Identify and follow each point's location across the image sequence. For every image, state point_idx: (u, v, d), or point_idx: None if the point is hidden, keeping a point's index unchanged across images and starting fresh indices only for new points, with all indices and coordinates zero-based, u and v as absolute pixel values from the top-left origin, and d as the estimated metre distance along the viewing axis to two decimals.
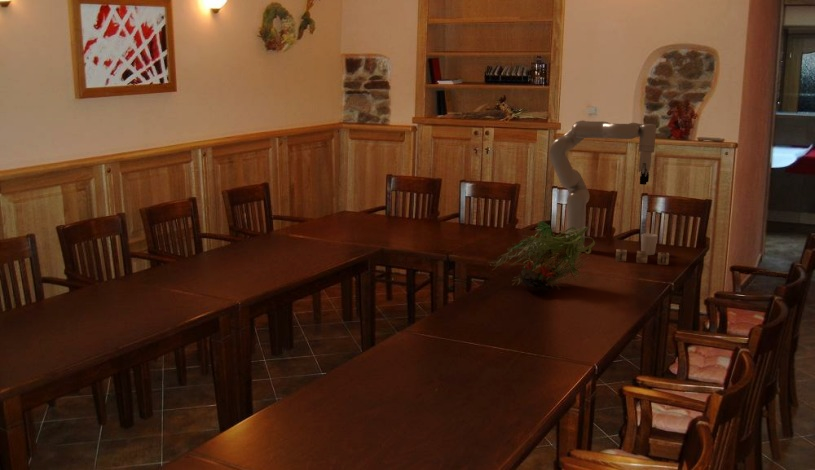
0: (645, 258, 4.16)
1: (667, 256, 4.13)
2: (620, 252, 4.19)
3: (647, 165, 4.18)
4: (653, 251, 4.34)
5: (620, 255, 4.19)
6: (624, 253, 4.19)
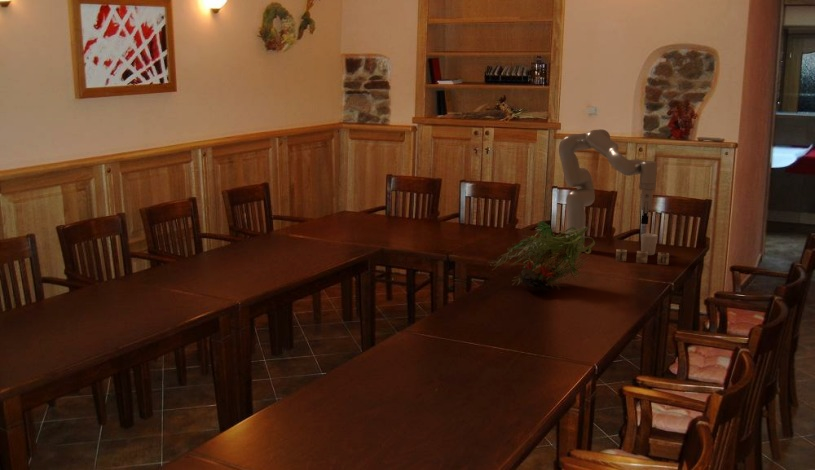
0: (645, 258, 4.16)
1: (667, 256, 4.13)
2: (620, 252, 4.19)
3: None
4: (653, 251, 4.34)
5: (620, 255, 4.19)
6: (624, 253, 4.19)
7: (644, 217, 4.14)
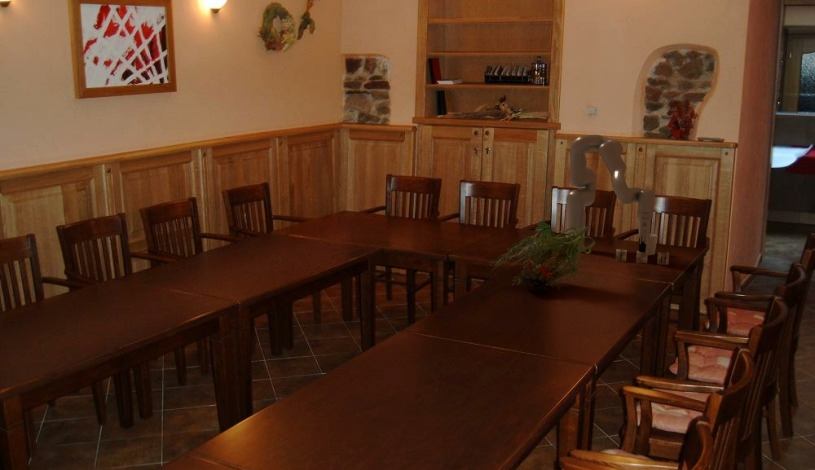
0: (645, 258, 4.16)
1: (667, 256, 4.13)
2: (621, 252, 4.19)
3: None
4: (653, 251, 4.34)
5: (620, 255, 4.19)
6: (624, 253, 4.18)
7: (642, 245, 4.16)
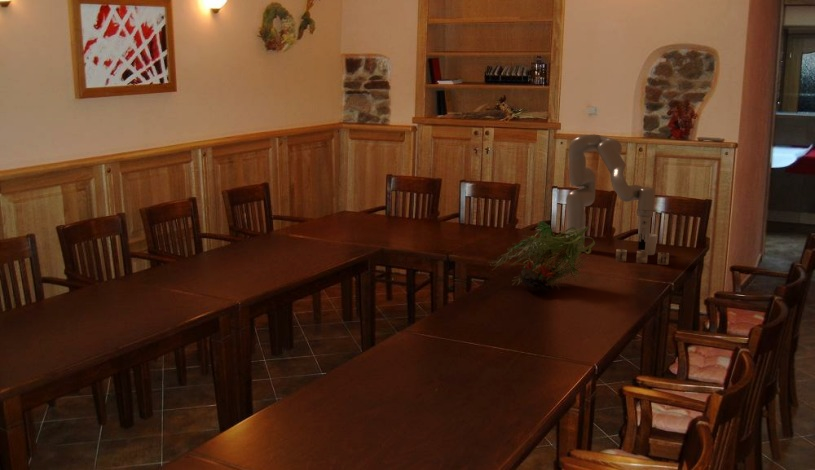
0: (645, 258, 4.16)
1: (667, 256, 4.13)
2: (621, 252, 4.19)
3: None
4: (653, 251, 4.34)
5: (620, 255, 4.19)
6: (624, 253, 4.19)
7: (641, 243, 4.17)
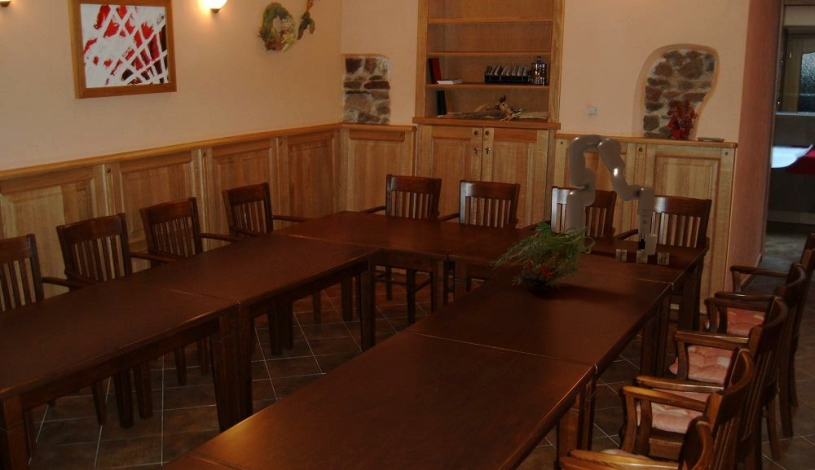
0: (645, 258, 4.16)
1: (667, 256, 4.13)
2: (621, 252, 4.19)
3: None
4: (653, 251, 4.34)
5: (620, 255, 4.19)
6: (624, 253, 4.19)
7: (641, 242, 4.17)
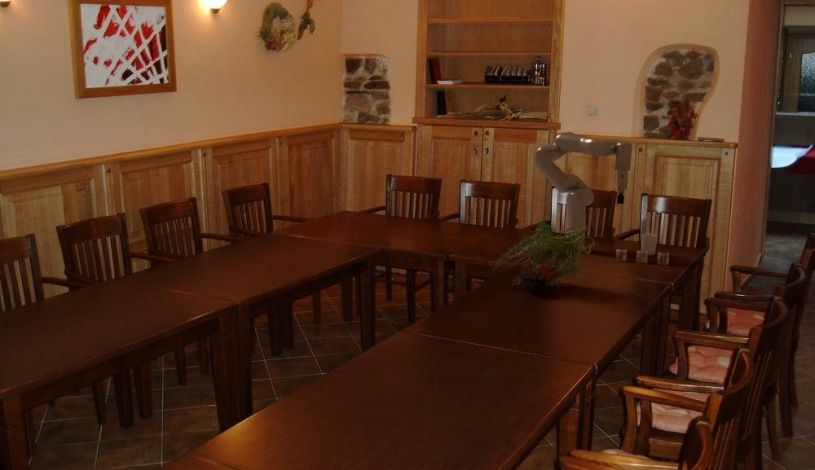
0: (645, 258, 4.16)
1: (667, 256, 4.13)
2: (621, 252, 4.19)
3: None
4: (653, 251, 4.34)
5: (620, 255, 4.19)
6: (624, 253, 4.19)
7: (620, 197, 4.23)
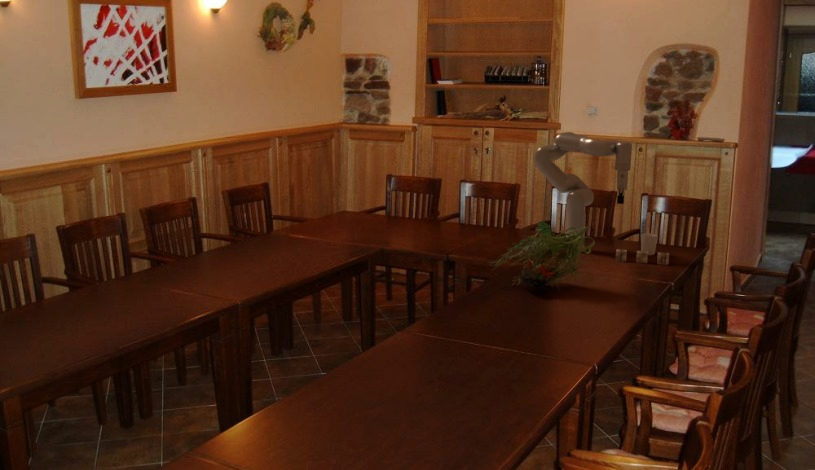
0: (645, 258, 4.16)
1: (667, 256, 4.13)
2: (621, 252, 4.19)
3: None
4: (653, 251, 4.34)
5: (620, 255, 4.19)
6: (624, 253, 4.18)
7: (620, 197, 4.23)
